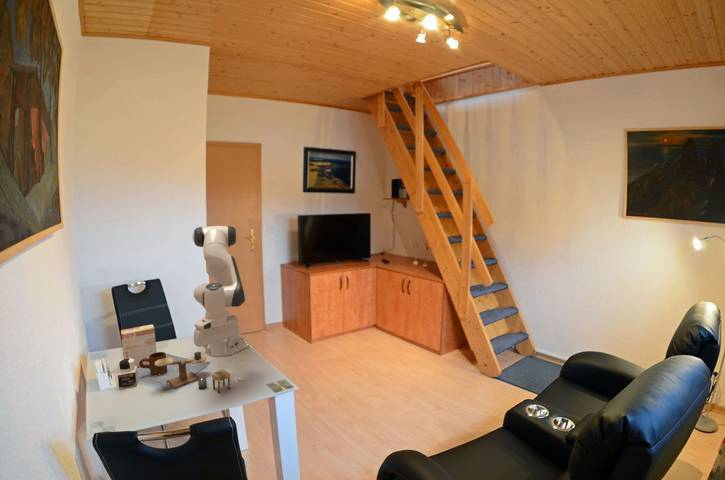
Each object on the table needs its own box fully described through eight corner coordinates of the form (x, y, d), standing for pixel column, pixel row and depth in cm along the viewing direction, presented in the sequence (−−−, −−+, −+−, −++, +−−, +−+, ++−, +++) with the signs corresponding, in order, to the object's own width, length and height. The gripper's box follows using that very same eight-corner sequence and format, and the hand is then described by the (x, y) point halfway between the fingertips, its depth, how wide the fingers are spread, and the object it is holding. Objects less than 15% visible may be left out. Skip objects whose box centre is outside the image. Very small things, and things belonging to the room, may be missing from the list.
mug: (141, 380, 191) (139, 361, 189) (139, 374, 197) (137, 356, 196) (168, 373, 198) (167, 355, 197) (165, 368, 204) (164, 350, 203)
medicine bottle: (118, 389, 182) (116, 364, 181) (121, 382, 189) (118, 358, 187) (136, 386, 185) (134, 361, 184) (138, 379, 192) (136, 355, 190)
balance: (202, 370, 201) (200, 345, 199) (211, 375, 195) (209, 350, 193) (153, 387, 183) (151, 361, 182) (161, 394, 178) (159, 367, 176)
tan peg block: (224, 384, 185) (223, 369, 184) (231, 388, 181) (230, 373, 180) (212, 389, 181) (211, 373, 180) (219, 393, 177) (218, 377, 176)
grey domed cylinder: (204, 385, 185) (203, 375, 185) (208, 387, 183) (207, 378, 182) (197, 388, 183) (196, 378, 182) (200, 390, 180) (200, 381, 180)
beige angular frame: (270, 377, 193) (269, 375, 193) (238, 390, 180) (238, 388, 180) (241, 362, 209) (241, 361, 209) (210, 374, 197) (210, 372, 197)
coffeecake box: (156, 358, 216) (153, 323, 213) (157, 363, 210) (154, 327, 207) (124, 365, 207) (120, 329, 205) (124, 370, 201) (121, 333, 199)
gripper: (233, 312, 187) (235, 341, 189) (190, 324, 172) (193, 355, 174) (241, 315, 183) (242, 344, 185) (197, 327, 168) (200, 359, 169)
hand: (218, 349), depth 179 cm, fingers open, 8 cm apart
